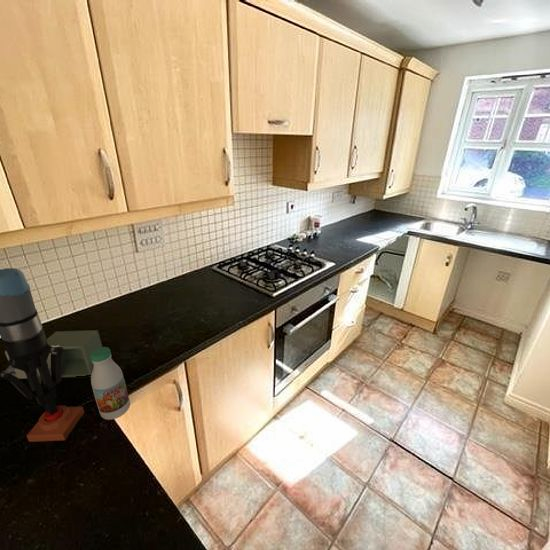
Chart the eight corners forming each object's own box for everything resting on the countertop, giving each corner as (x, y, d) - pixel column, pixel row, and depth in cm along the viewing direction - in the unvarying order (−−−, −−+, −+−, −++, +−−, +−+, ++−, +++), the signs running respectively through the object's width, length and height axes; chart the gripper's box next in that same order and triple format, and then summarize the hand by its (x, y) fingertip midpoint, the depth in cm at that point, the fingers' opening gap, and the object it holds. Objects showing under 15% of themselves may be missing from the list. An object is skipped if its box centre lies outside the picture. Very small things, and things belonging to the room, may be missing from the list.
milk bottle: (94, 416, 84) (75, 356, 76) (116, 396, 90) (101, 340, 83) (114, 424, 81) (97, 363, 73) (136, 403, 88) (122, 346, 80)
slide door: (-1, 393, 91) (-13, 364, 87) (17, 377, 97) (6, 350, 93) (47, 391, 91) (36, 363, 87) (61, 375, 98) (52, 348, 94)
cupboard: (48, 378, 98) (37, 347, 94) (65, 360, 106) (55, 331, 102) (92, 376, 99) (83, 345, 94) (105, 359, 107) (97, 330, 102)
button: (42, 422, 78) (40, 417, 77) (52, 411, 81) (50, 406, 80) (57, 422, 78) (55, 417, 77) (65, 411, 81) (63, 406, 80)
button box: (28, 441, 76) (23, 430, 75) (51, 413, 85) (47, 402, 83) (65, 440, 77) (60, 428, 75) (84, 412, 85) (80, 401, 83)
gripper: (45, 317, 77) (69, 390, 85) (-20, 344, 66) (15, 424, 75) (62, 324, 73) (85, 399, 82) (-4, 354, 63) (31, 436, 72)
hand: (51, 411), depth 78 cm, fingers closed
